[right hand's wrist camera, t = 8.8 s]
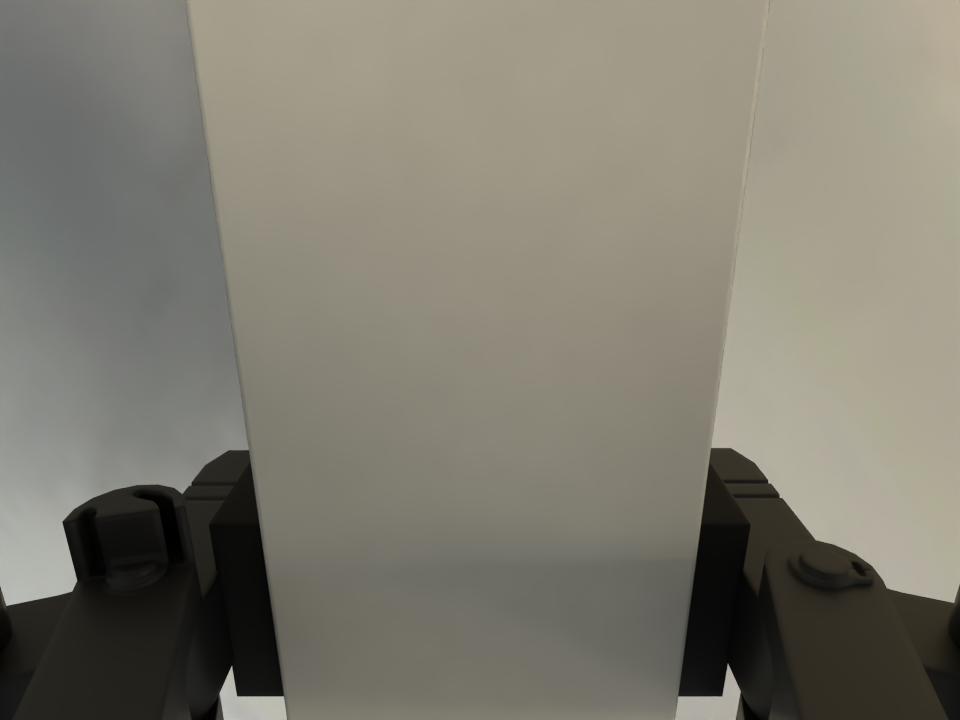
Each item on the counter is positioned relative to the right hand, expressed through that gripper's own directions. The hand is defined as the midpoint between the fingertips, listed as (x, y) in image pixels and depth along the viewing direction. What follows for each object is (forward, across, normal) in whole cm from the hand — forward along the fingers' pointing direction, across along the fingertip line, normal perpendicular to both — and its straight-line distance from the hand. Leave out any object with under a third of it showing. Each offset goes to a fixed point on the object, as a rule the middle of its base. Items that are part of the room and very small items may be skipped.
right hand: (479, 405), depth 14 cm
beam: (+1, 0, -18) cm, 18 cm away
